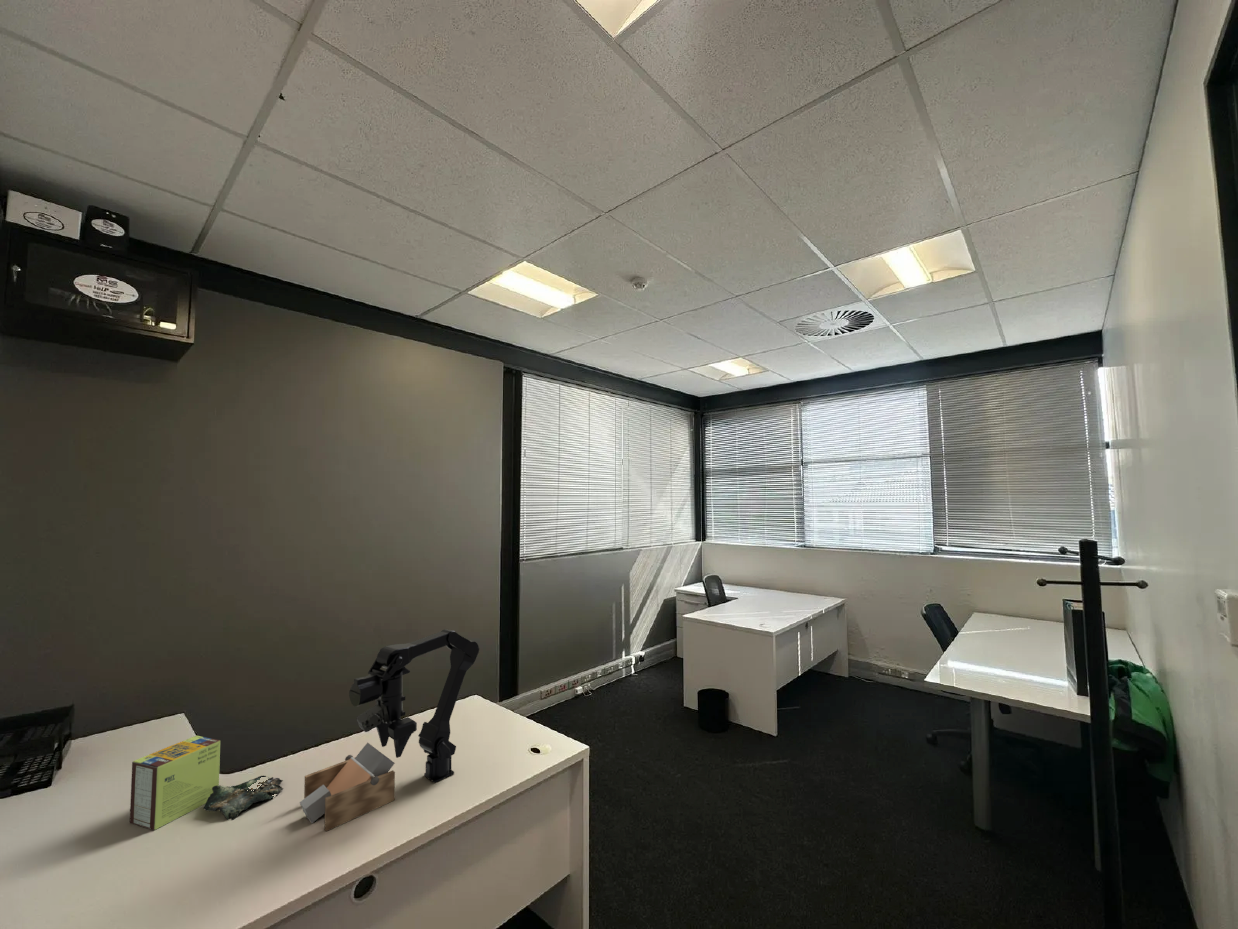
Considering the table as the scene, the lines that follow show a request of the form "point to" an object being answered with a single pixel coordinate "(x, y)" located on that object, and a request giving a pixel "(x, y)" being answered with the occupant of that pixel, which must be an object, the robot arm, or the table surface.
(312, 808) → the stone
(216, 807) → the decorative rock
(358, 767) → the trapdoor
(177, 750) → the protein box
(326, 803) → the trapdoor frame
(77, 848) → the table surface
